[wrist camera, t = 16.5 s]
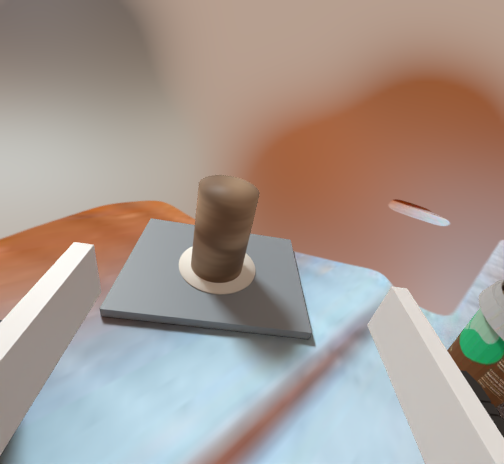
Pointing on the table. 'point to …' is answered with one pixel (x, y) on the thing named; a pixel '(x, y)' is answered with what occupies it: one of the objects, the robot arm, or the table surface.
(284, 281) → the seat board
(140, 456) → the table surface
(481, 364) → the food container
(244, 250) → the brown cylinder
